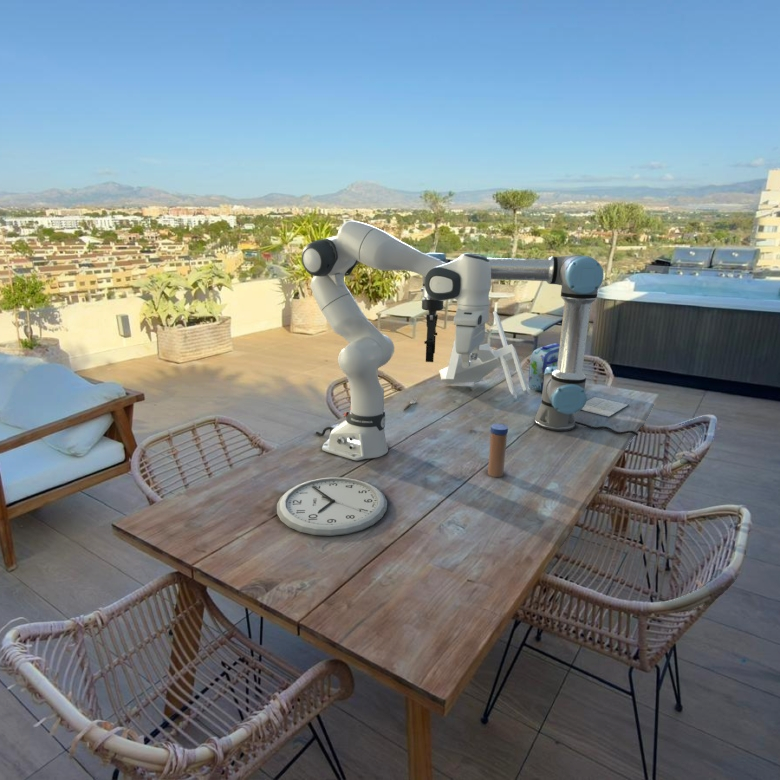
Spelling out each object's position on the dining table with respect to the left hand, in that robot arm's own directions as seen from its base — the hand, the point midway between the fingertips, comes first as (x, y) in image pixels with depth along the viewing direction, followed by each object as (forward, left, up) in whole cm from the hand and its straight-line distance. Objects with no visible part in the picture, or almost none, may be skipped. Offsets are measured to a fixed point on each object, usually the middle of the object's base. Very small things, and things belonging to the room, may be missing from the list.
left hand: (470, 363), depth 148 cm
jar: (+8, +8, -37) cm, 38 cm away
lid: (+8, +8, -21) cm, 24 cm away
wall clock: (-29, -29, -37) cm, 55 cm away
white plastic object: (-15, +89, -37) cm, 98 cm away
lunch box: (+14, +111, -37) cm, 117 cm away
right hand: (-23, +35, -9) cm, 43 cm away
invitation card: (+38, +91, -37) cm, 105 cm away
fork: (-38, +57, -37) cm, 78 cm away
